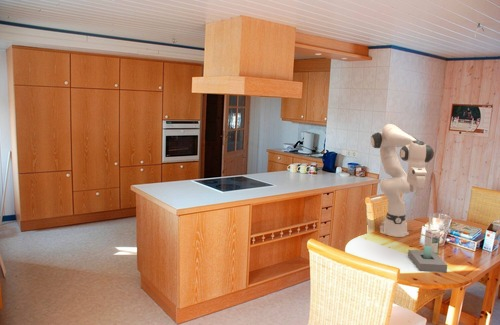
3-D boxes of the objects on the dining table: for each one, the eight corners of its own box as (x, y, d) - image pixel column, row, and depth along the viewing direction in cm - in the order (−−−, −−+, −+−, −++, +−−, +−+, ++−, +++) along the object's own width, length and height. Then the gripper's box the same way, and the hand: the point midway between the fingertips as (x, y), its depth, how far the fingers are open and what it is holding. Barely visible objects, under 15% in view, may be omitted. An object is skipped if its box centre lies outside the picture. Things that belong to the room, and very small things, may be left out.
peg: (421, 262, 220) (422, 245, 219) (428, 262, 220) (430, 245, 218) (423, 265, 216) (425, 247, 215) (431, 265, 216) (433, 248, 214)
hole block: (407, 256, 228) (408, 249, 228) (432, 257, 227) (433, 250, 227) (419, 270, 209) (420, 263, 208) (446, 272, 207) (447, 265, 207)
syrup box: (430, 256, 229) (432, 232, 227) (423, 252, 235) (425, 229, 233) (438, 255, 231) (440, 231, 229) (431, 251, 237) (433, 228, 234)
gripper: (405, 166, 233) (403, 189, 235) (416, 172, 213) (414, 197, 215) (416, 166, 232) (414, 189, 234) (428, 172, 212) (425, 197, 214)
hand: (414, 193), depth 224 cm, fingers open, 8 cm apart
